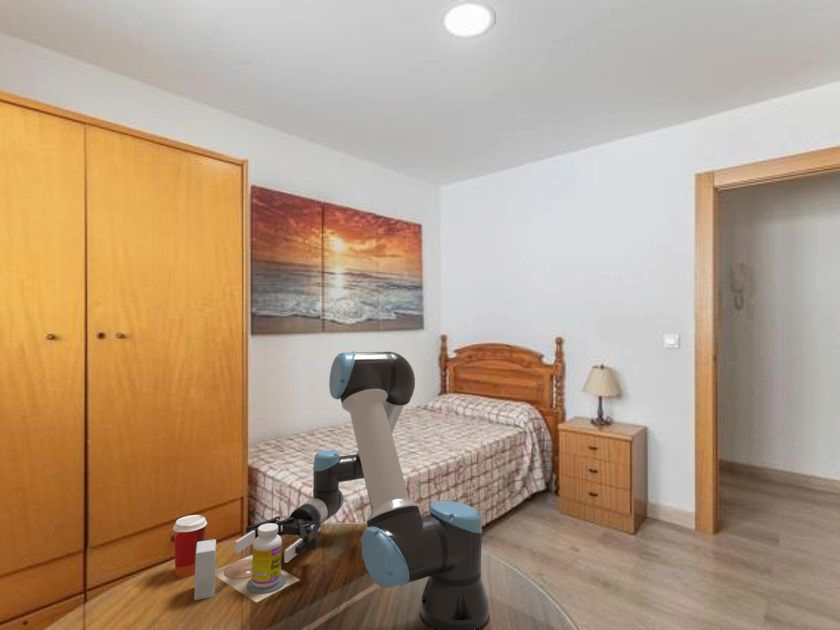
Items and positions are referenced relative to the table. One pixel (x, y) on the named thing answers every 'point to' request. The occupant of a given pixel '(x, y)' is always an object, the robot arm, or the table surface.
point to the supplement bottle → (266, 556)
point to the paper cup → (187, 543)
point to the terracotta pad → (239, 569)
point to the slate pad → (268, 589)
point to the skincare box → (205, 569)
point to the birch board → (242, 583)
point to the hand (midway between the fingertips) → (260, 552)
